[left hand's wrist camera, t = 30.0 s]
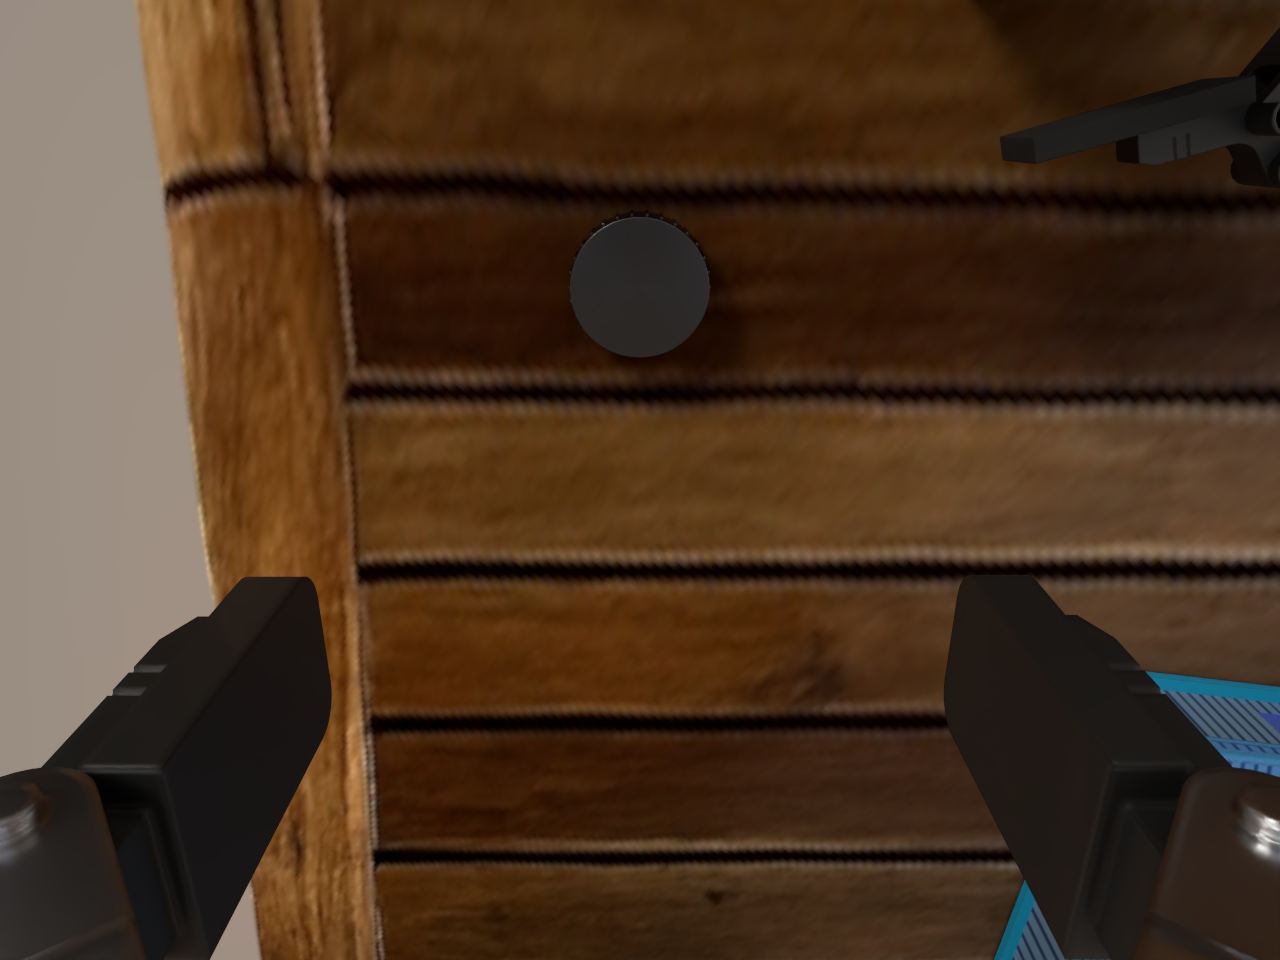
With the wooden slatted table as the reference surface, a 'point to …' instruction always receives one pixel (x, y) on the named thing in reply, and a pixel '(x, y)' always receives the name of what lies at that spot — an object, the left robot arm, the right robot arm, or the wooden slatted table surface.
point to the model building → (1232, 722)
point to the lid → (639, 284)
